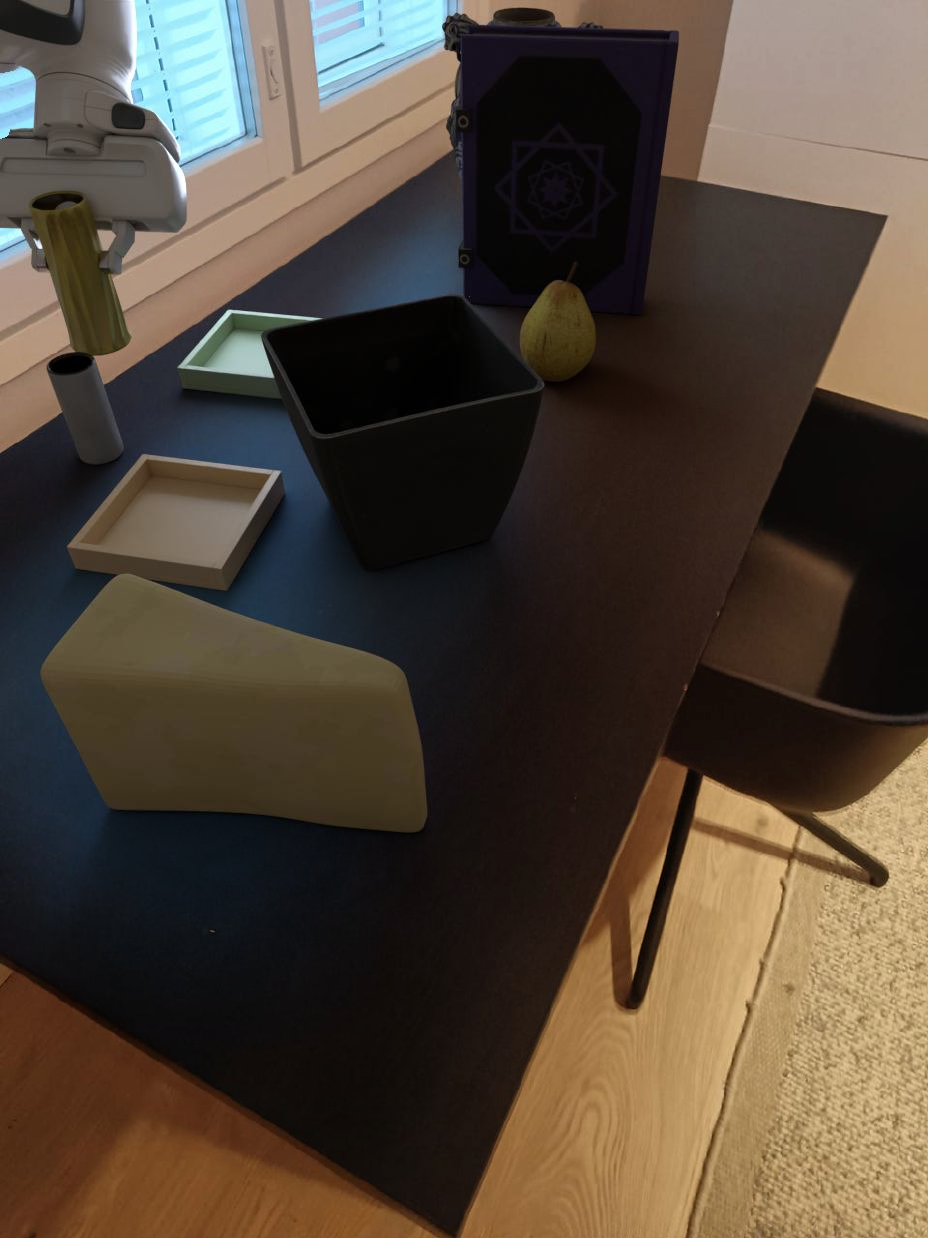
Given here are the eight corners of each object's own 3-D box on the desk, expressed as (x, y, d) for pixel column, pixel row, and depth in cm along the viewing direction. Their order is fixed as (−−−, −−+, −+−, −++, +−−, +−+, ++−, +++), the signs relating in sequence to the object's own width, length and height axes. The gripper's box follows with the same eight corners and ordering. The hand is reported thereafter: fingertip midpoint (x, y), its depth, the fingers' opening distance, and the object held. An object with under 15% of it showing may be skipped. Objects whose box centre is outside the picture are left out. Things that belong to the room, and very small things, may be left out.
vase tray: (182, 388, 103) (177, 367, 101) (232, 328, 113) (228, 309, 111) (303, 401, 100) (299, 380, 98) (342, 339, 110) (340, 319, 109)
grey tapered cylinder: (71, 452, 94) (37, 362, 86) (111, 435, 96) (81, 346, 88) (91, 470, 91) (58, 379, 84) (132, 452, 93) (103, 363, 86)
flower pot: (285, 484, 89) (256, 325, 77) (461, 443, 94) (459, 288, 82) (338, 606, 77) (314, 439, 65) (538, 551, 82) (549, 387, 70)
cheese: (446, 769, 64) (440, 622, 54) (403, 889, 58) (387, 748, 47) (170, 707, 69) (115, 560, 58) (102, 811, 62) (25, 667, 52)
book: (643, 295, 118) (679, 28, 97) (641, 317, 114) (678, 43, 93) (467, 283, 121) (465, 22, 100) (459, 304, 117) (455, 36, 96)
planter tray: (75, 568, 80) (66, 546, 79) (149, 475, 91) (142, 453, 89) (227, 591, 78) (221, 569, 76) (285, 492, 88) (281, 470, 86)
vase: (75, 361, 90) (25, 216, 80) (67, 335, 94) (19, 194, 84) (136, 349, 92) (95, 206, 82) (127, 323, 96) (86, 184, 86)
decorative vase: (596, 220, 136) (617, 0, 117) (579, 270, 124) (599, 33, 104) (460, 209, 140) (458, -6, 120) (430, 257, 127) (422, 26, 108)
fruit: (529, 394, 101) (534, 291, 92) (509, 355, 107) (512, 256, 99) (602, 386, 102) (614, 283, 94) (578, 347, 108) (587, 248, 100)
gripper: (-39, 109, 85) (-47, 255, 85) (172, 113, 84) (165, 261, 84) (-1, 144, 91) (-8, 280, 91) (196, 149, 90) (189, 286, 90)
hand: (76, 271), depth 87 cm, fingers closed on vase, 5 cm apart
